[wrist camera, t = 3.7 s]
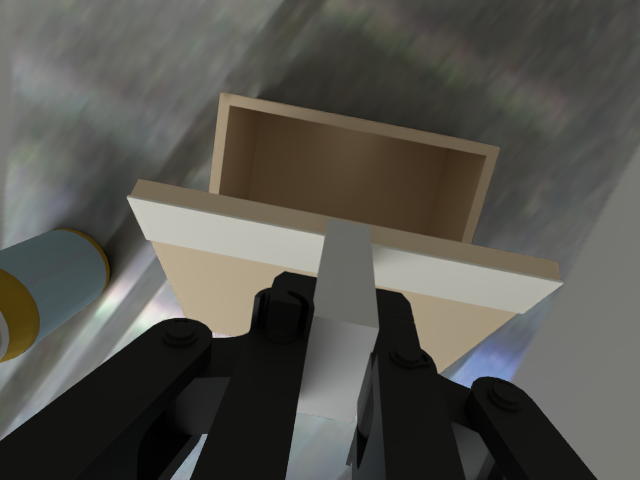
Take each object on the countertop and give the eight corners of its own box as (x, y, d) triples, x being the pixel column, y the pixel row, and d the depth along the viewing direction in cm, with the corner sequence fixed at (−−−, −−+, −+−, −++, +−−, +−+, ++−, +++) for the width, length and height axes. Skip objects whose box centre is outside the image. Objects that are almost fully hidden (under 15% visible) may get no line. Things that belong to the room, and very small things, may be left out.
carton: (412, 299, 38) (435, 362, 28) (232, 263, 38) (194, 314, 28) (457, 137, 34) (500, 147, 24) (255, 97, 34) (220, 92, 24)
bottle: (71, 210, 38) (-100, 271, 23) (129, 269, 39) (1, 362, 24) (21, 258, 39) (-168, 343, 25) (79, 314, 40) (-69, 425, 26)
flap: (437, 364, 28) (437, 378, 28) (192, 315, 28) (187, 328, 28) (560, 261, 16) (563, 283, 16) (136, 178, 16) (126, 196, 16)
